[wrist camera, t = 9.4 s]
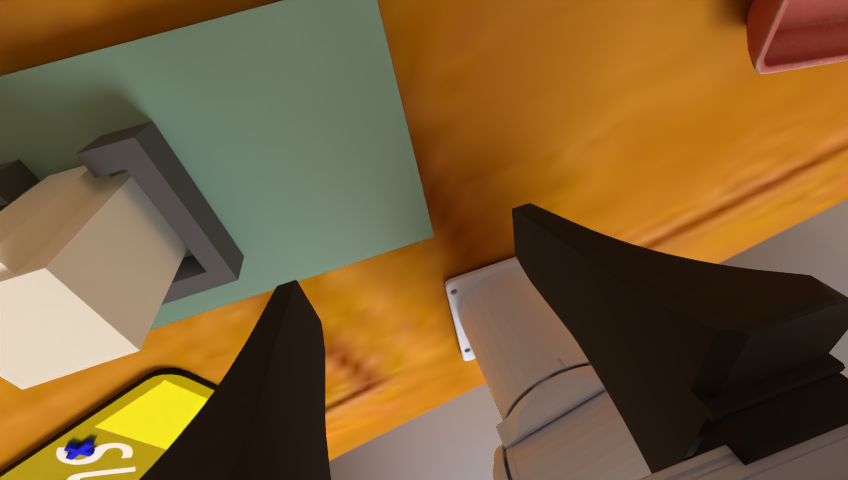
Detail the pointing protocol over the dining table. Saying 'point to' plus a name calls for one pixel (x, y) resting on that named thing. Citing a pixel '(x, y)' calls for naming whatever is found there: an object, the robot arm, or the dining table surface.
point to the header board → (235, 142)
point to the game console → (120, 432)
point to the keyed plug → (80, 274)
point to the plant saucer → (796, 34)
